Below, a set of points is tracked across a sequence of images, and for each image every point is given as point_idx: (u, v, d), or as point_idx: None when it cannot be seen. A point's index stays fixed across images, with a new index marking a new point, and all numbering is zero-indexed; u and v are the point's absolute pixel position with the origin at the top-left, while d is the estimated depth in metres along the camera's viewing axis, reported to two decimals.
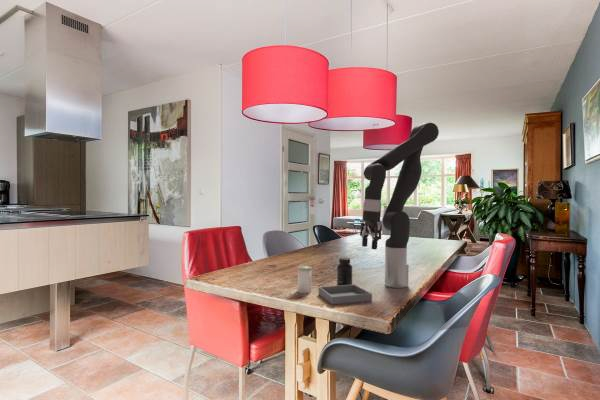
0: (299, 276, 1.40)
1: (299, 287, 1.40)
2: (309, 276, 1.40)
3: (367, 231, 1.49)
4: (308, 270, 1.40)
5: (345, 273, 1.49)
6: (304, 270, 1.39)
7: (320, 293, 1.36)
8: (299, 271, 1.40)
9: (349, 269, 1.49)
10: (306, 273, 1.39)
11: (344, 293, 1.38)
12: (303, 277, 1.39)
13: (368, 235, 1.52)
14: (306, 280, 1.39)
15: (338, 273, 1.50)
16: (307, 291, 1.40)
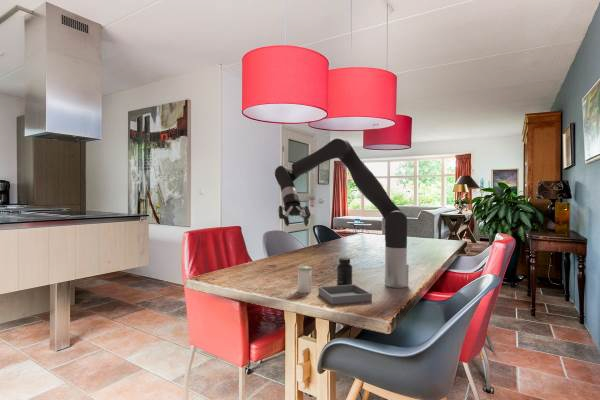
0: (299, 276, 1.40)
1: (299, 287, 1.40)
2: (309, 276, 1.40)
3: None
4: (308, 270, 1.40)
5: (345, 273, 1.49)
6: (304, 270, 1.39)
7: (320, 293, 1.36)
8: (299, 271, 1.40)
9: (349, 269, 1.49)
10: (306, 273, 1.39)
11: (344, 293, 1.38)
12: (303, 277, 1.39)
13: (303, 214, 1.55)
14: (306, 280, 1.39)
15: (338, 273, 1.50)
16: (307, 291, 1.40)
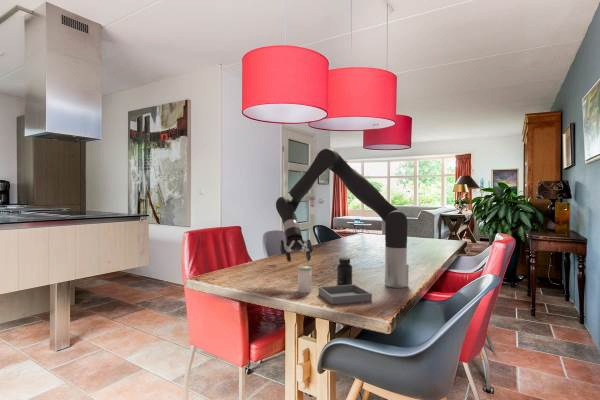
0: (299, 276, 1.40)
1: (299, 287, 1.40)
2: (309, 276, 1.40)
3: None
4: (308, 270, 1.40)
5: (345, 273, 1.49)
6: (304, 270, 1.39)
7: (320, 293, 1.36)
8: (299, 271, 1.40)
9: (349, 269, 1.49)
10: (306, 273, 1.39)
11: (344, 293, 1.38)
12: (303, 277, 1.39)
13: (305, 249, 1.52)
14: (306, 280, 1.39)
15: (338, 273, 1.50)
16: (307, 291, 1.40)
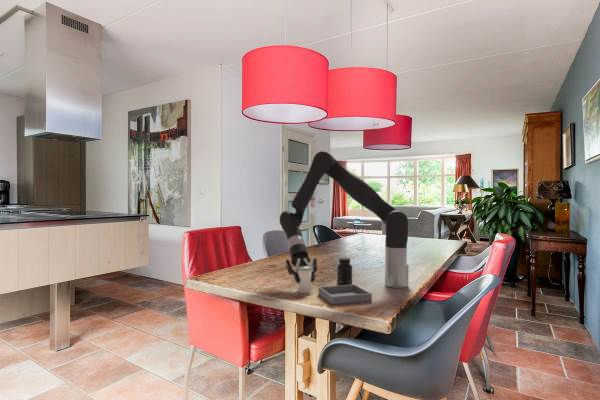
0: (299, 276, 1.40)
1: (299, 287, 1.40)
2: (309, 276, 1.40)
3: None
4: (308, 270, 1.40)
5: (345, 273, 1.49)
6: (304, 270, 1.39)
7: (320, 293, 1.36)
8: (299, 271, 1.40)
9: (349, 269, 1.49)
10: (305, 273, 1.39)
11: (344, 293, 1.38)
12: (303, 277, 1.39)
13: None
14: (306, 280, 1.39)
15: (338, 273, 1.50)
16: (307, 291, 1.40)
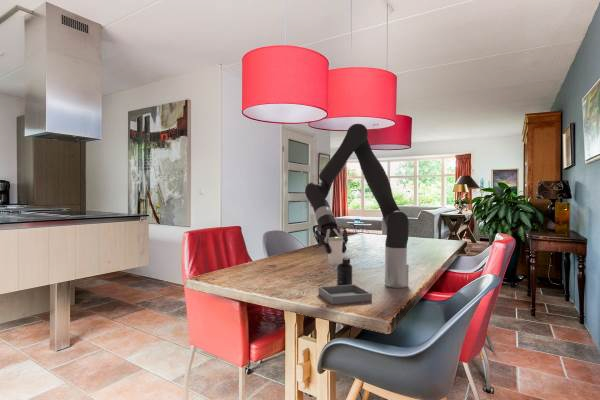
0: (330, 246, 1.34)
1: (331, 258, 1.33)
2: (340, 246, 1.33)
3: None
4: (339, 240, 1.33)
5: (345, 273, 1.49)
6: (335, 240, 1.32)
7: (320, 293, 1.36)
8: (330, 241, 1.34)
9: (349, 269, 1.49)
10: (337, 243, 1.33)
11: (344, 293, 1.38)
12: (334, 247, 1.33)
13: None
14: (337, 250, 1.33)
15: (338, 273, 1.50)
16: (339, 262, 1.33)
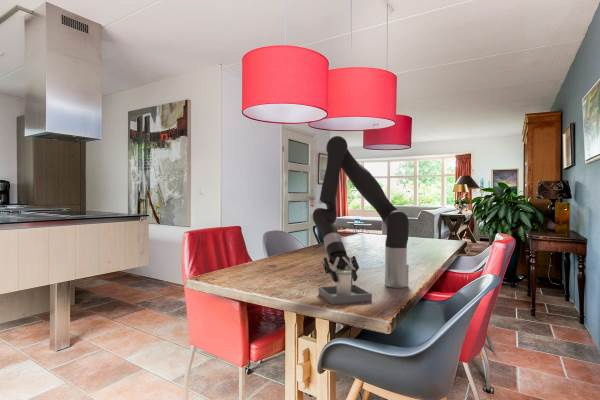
0: (338, 280, 1.32)
1: (339, 292, 1.31)
2: (349, 280, 1.31)
3: None
4: (348, 274, 1.31)
5: None
6: (344, 274, 1.30)
7: (320, 293, 1.36)
8: (338, 275, 1.32)
9: None
10: (346, 277, 1.31)
11: None
12: (343, 281, 1.31)
13: (350, 267, 1.35)
14: (346, 285, 1.31)
15: None
16: None
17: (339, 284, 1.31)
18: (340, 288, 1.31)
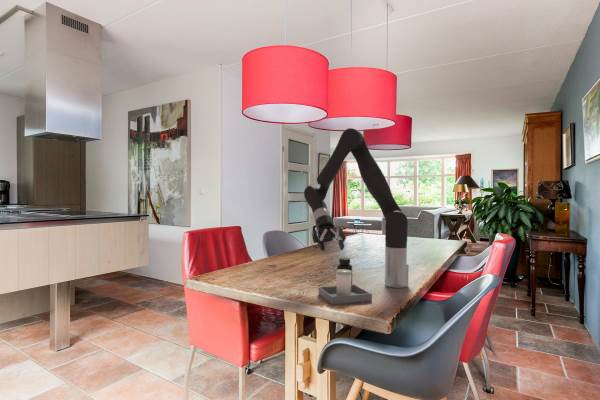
0: (338, 280, 1.32)
1: (339, 292, 1.31)
2: (349, 280, 1.31)
3: None
4: (348, 274, 1.31)
5: None
6: (344, 274, 1.30)
7: (320, 293, 1.36)
8: (338, 275, 1.32)
9: (349, 269, 1.49)
10: (346, 277, 1.31)
11: None
12: (343, 281, 1.31)
13: (338, 238, 1.48)
14: (346, 285, 1.31)
15: None
16: None
17: (339, 284, 1.31)
18: (340, 288, 1.31)
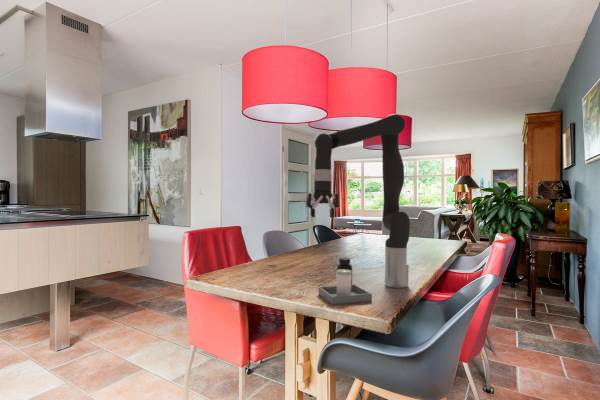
0: (338, 280, 1.32)
1: (339, 292, 1.31)
2: (349, 280, 1.31)
3: None
4: (348, 274, 1.31)
5: None
6: (344, 274, 1.30)
7: (320, 293, 1.36)
8: (338, 275, 1.32)
9: (349, 269, 1.49)
10: (346, 277, 1.31)
11: None
12: (343, 281, 1.31)
13: (331, 206, 1.50)
14: (346, 285, 1.31)
15: None
16: None
17: (339, 284, 1.31)
18: (340, 288, 1.31)
